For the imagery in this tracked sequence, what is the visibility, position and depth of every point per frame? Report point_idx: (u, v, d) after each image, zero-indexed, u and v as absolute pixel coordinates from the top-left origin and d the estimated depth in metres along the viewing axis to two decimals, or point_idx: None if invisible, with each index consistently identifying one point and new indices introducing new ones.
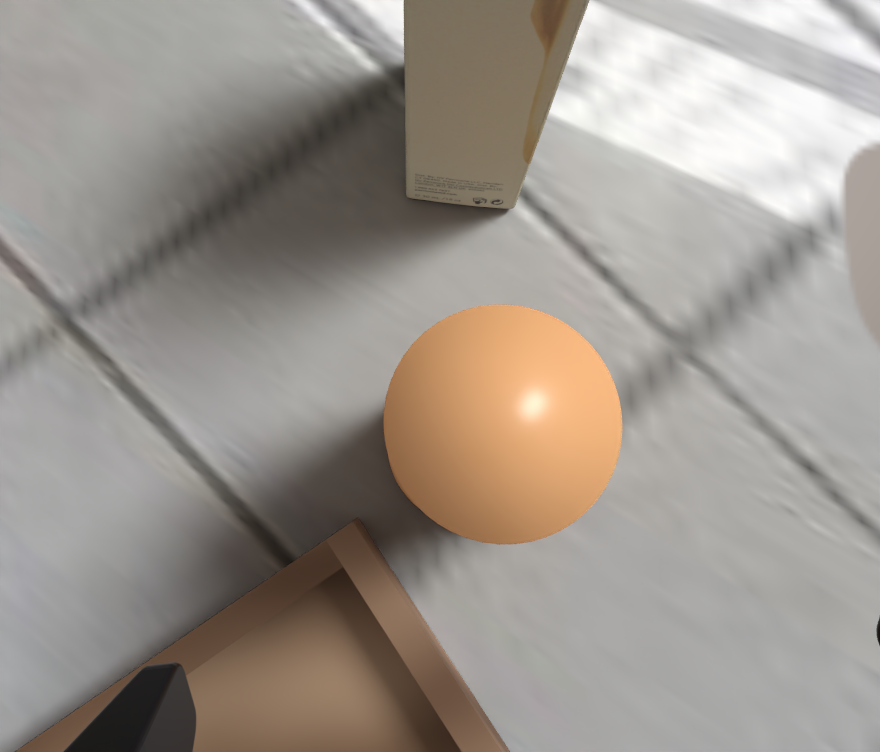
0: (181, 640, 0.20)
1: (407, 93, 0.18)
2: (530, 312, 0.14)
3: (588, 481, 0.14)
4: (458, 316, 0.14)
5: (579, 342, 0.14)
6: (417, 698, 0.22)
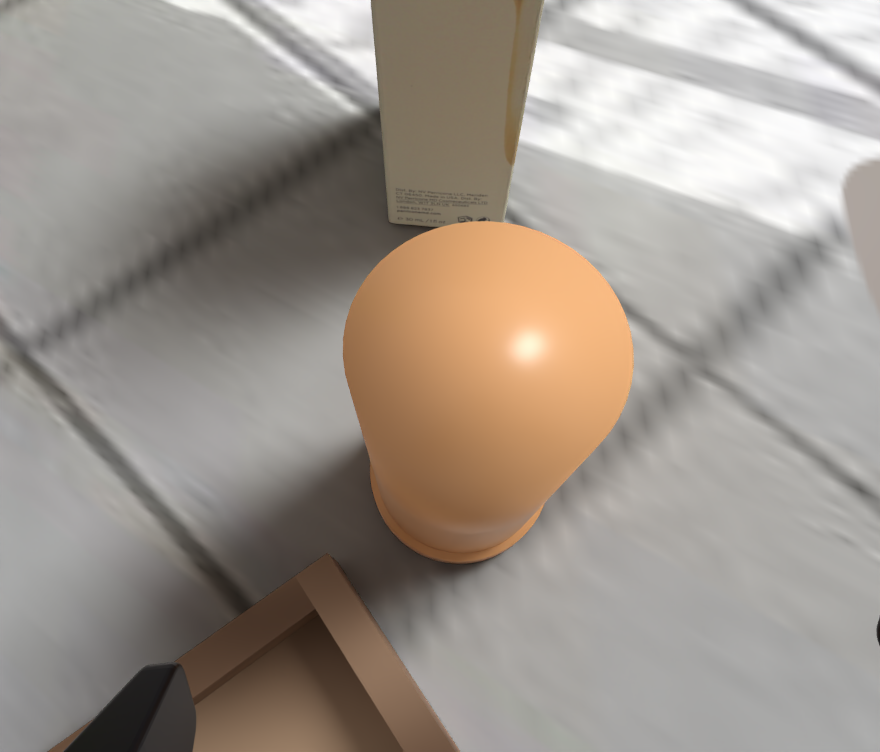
0: None
1: (379, 77, 0.18)
2: (513, 227, 0.12)
3: (597, 409, 0.11)
4: (431, 234, 0.12)
5: (573, 258, 0.12)
6: None
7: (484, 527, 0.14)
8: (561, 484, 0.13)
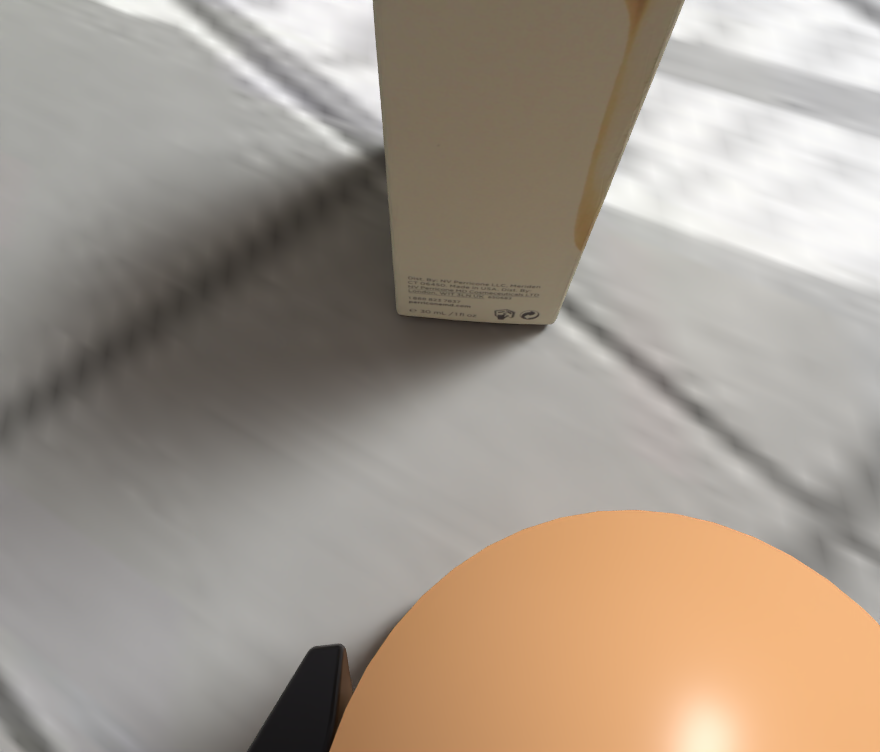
0: None
1: (386, 133, 0.11)
2: (694, 526, 0.05)
3: None
4: (511, 547, 0.05)
5: (835, 606, 0.05)
6: None
7: None
8: None
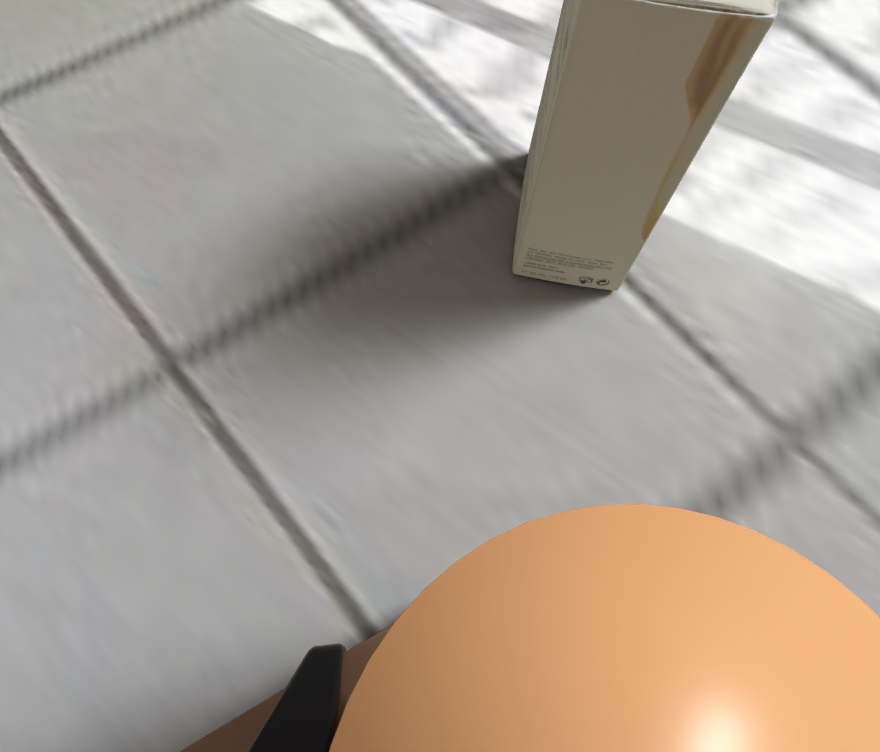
0: (257, 707, 0.18)
1: (543, 160, 0.19)
2: (695, 519, 0.05)
3: None
4: (512, 540, 0.05)
5: (836, 599, 0.05)
6: None
7: None
8: None
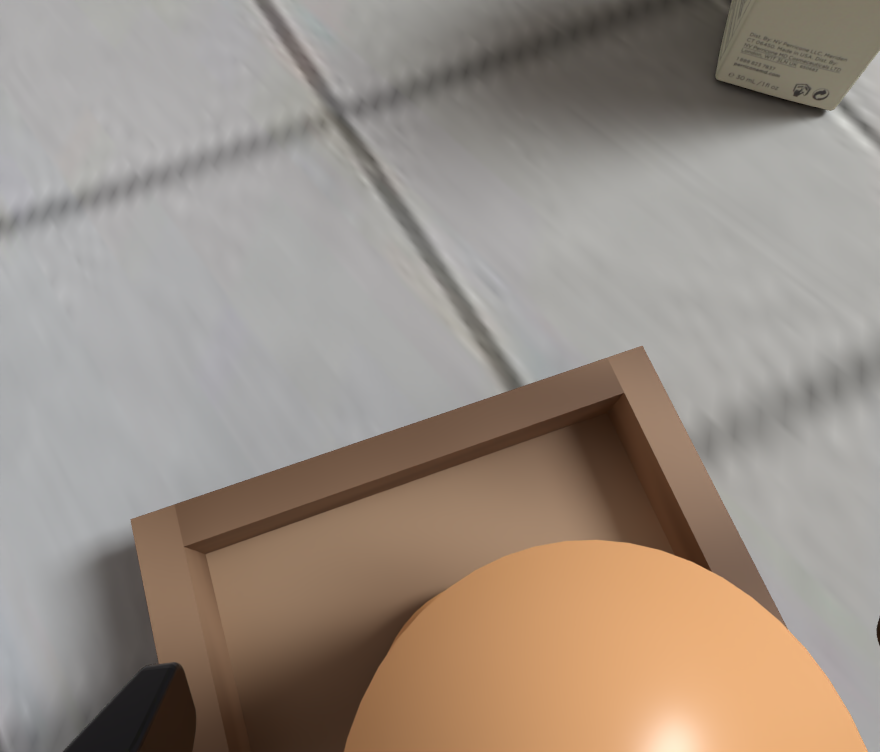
0: (414, 425, 0.16)
1: None
2: (644, 553, 0.07)
3: None
4: (494, 571, 0.07)
5: (757, 618, 0.06)
6: None
7: None
8: None
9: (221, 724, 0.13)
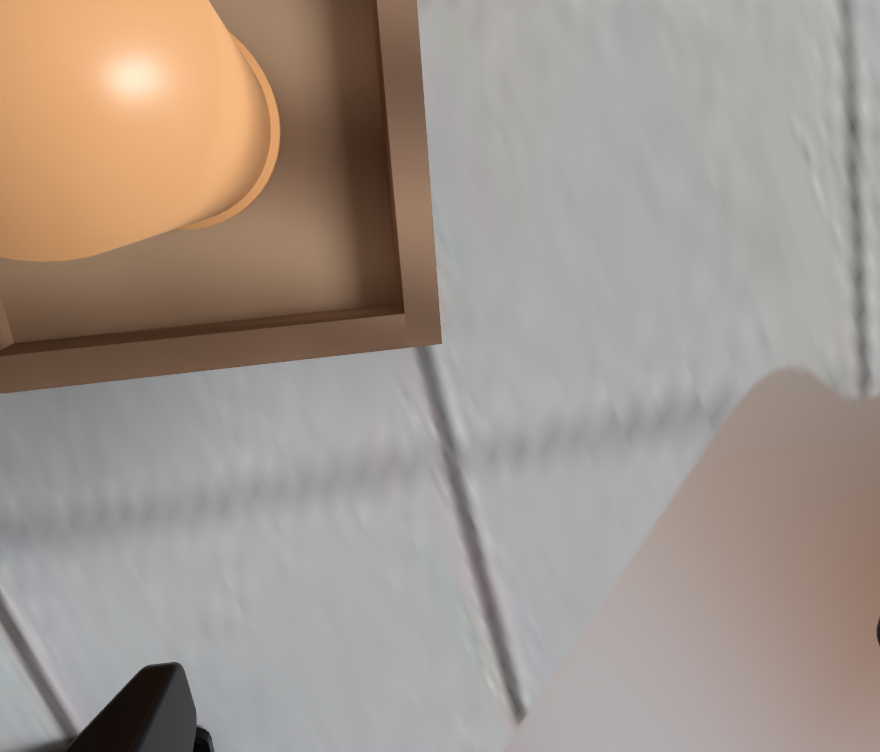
0: None
1: None
2: None
3: (146, 195, 0.09)
4: None
5: None
6: (360, 92, 0.18)
7: None
8: (174, 227, 0.12)
9: None
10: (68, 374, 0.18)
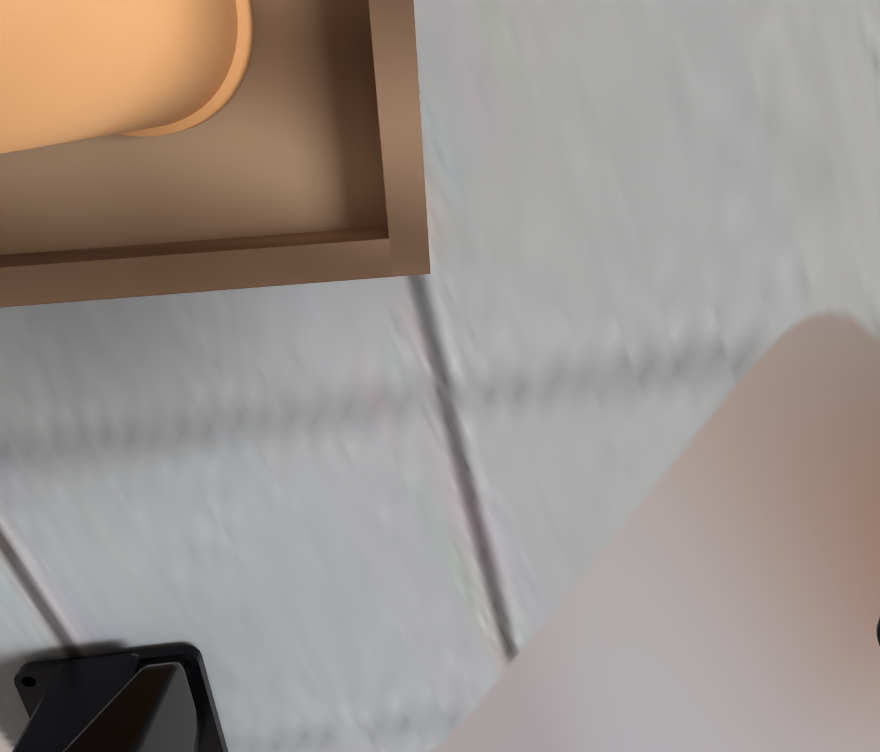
0: None
1: None
2: None
3: None
4: None
5: None
6: None
7: None
8: (83, 132, 0.10)
9: None
10: (28, 292, 0.16)
